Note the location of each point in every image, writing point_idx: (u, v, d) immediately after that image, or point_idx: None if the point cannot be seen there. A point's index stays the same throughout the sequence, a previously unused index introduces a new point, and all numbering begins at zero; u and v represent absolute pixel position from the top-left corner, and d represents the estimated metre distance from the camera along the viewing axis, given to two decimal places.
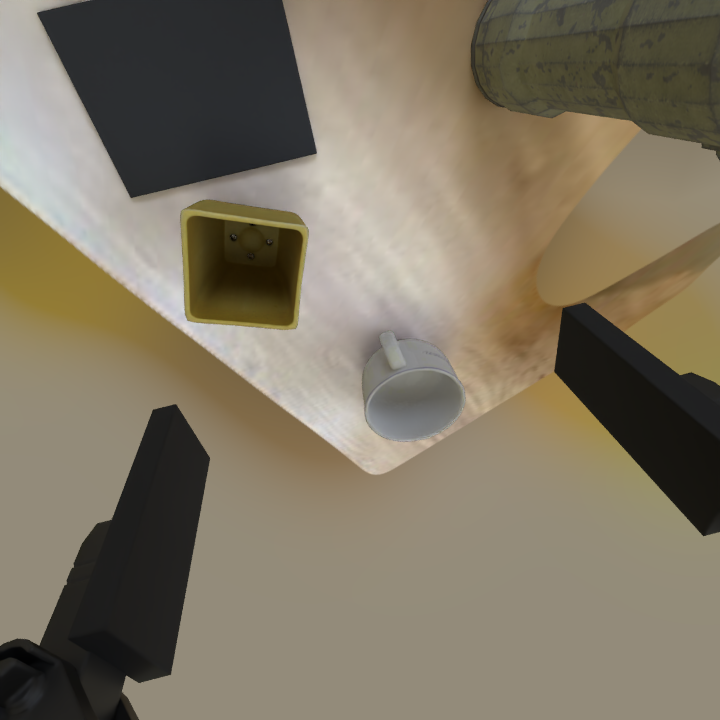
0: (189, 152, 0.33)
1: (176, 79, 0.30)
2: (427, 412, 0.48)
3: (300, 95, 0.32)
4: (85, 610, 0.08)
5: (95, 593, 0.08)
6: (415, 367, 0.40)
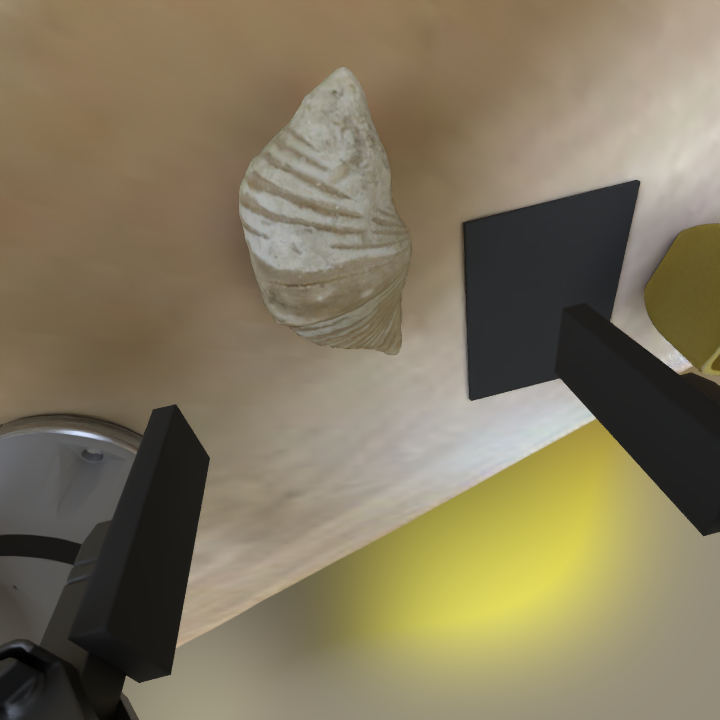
0: None
1: (531, 319, 0.32)
2: None
3: (578, 200, 0.27)
4: (85, 610, 0.08)
5: (95, 593, 0.08)
6: None
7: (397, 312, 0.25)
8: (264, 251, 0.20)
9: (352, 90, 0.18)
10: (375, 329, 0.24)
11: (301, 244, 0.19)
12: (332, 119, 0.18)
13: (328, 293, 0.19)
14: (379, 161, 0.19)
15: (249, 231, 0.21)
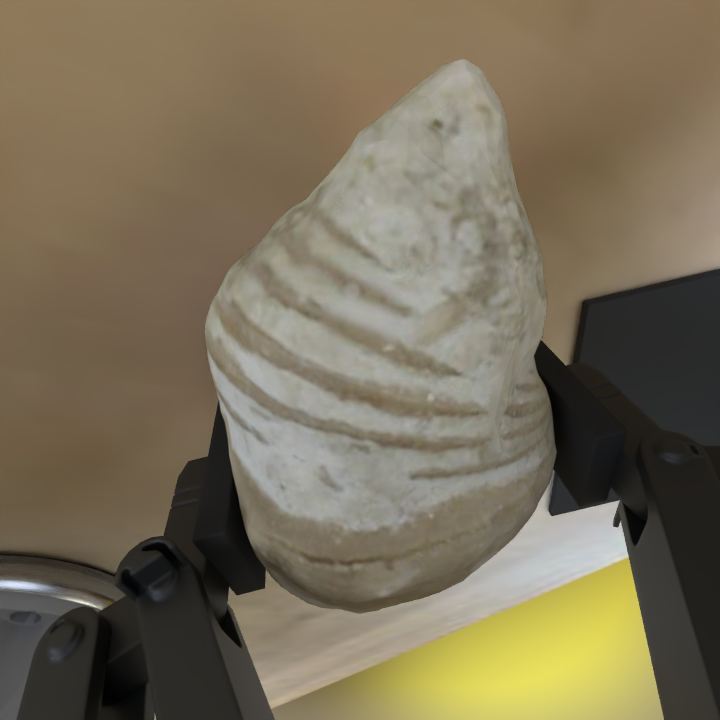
0: None
1: None
2: None
3: None
4: (203, 520, 0.09)
5: (208, 508, 0.10)
6: None
7: None
8: (256, 462, 0.09)
9: (484, 121, 0.07)
10: None
11: (342, 473, 0.08)
12: (431, 195, 0.07)
13: (402, 582, 0.08)
14: (531, 288, 0.08)
15: (226, 407, 0.10)
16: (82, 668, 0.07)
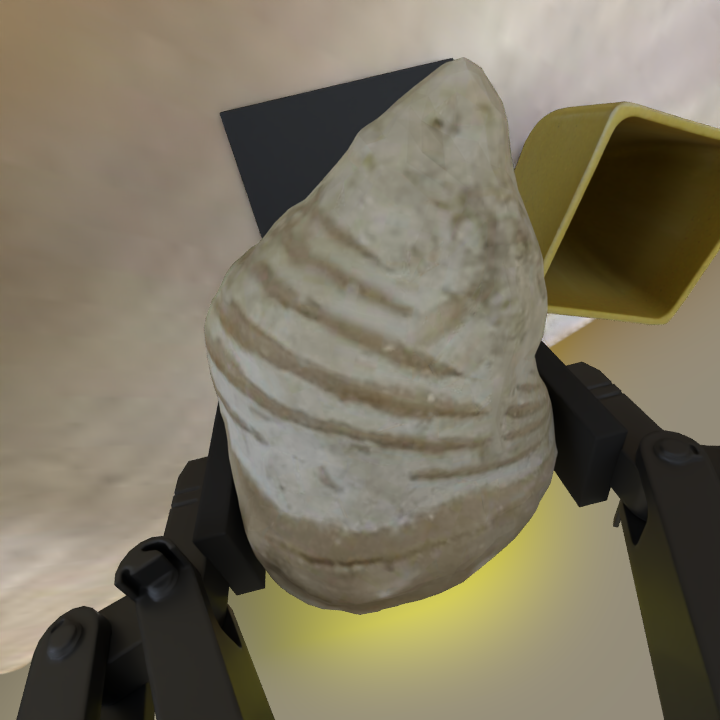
0: None
1: None
2: None
3: (371, 83, 0.20)
4: (203, 520, 0.09)
5: (208, 507, 0.10)
6: None
7: None
8: (256, 462, 0.09)
9: (485, 120, 0.07)
10: None
11: (342, 474, 0.08)
12: (432, 194, 0.07)
13: (402, 584, 0.08)
14: (532, 288, 0.08)
15: (226, 407, 0.10)
16: (82, 668, 0.07)
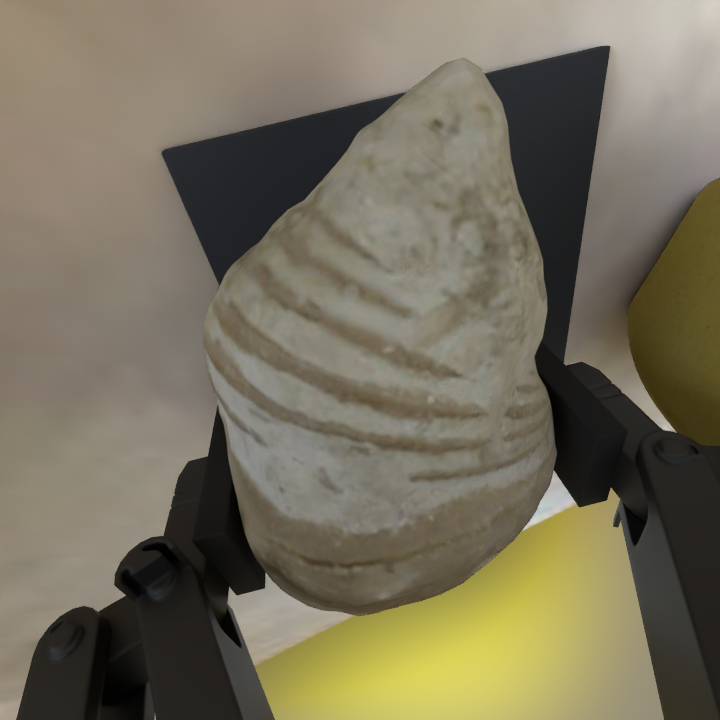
0: None
1: None
2: None
3: None
4: (203, 520, 0.09)
5: (208, 508, 0.10)
6: None
7: None
8: (255, 464, 0.09)
9: (485, 121, 0.07)
10: None
11: (341, 475, 0.08)
12: (431, 196, 0.07)
13: (403, 585, 0.08)
14: (532, 289, 0.08)
15: (225, 409, 0.10)
16: (82, 668, 0.07)
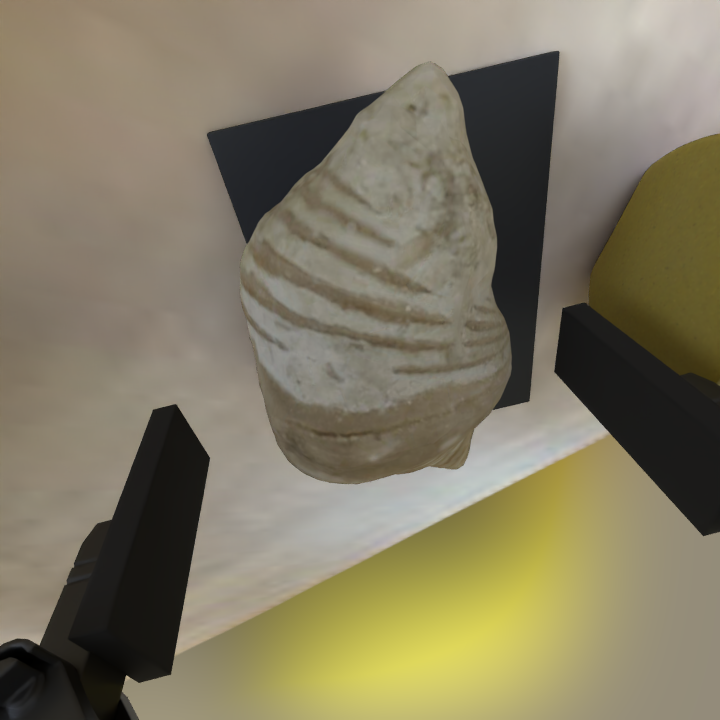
0: None
1: None
2: None
3: None
4: (85, 610, 0.08)
5: (95, 593, 0.08)
6: None
7: None
8: (278, 367, 0.12)
9: (445, 105, 0.10)
10: (442, 457, 0.16)
11: (343, 367, 0.11)
12: (407, 157, 0.10)
13: (387, 450, 0.11)
14: (482, 229, 0.11)
15: (255, 329, 0.13)
16: None
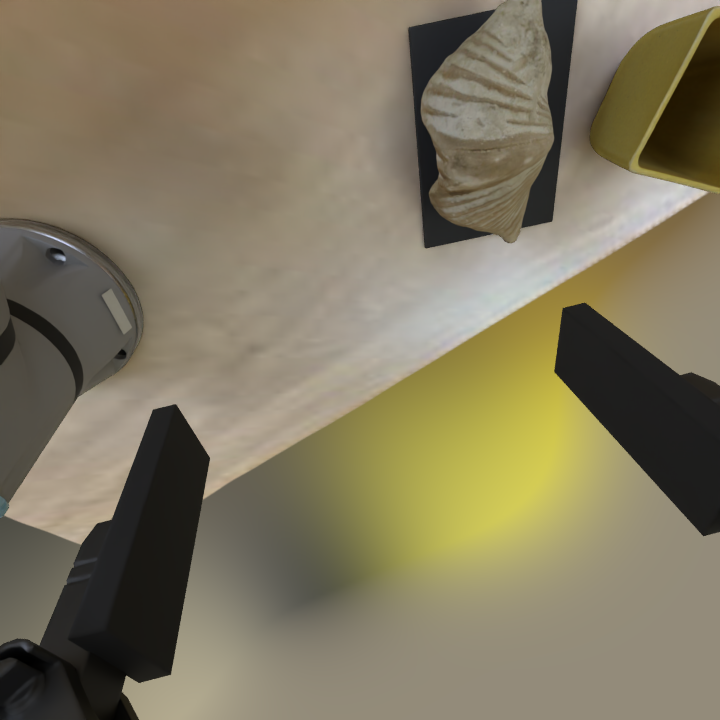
0: None
1: None
2: None
3: None
4: (85, 610, 0.08)
5: (95, 593, 0.08)
6: None
7: (526, 198, 0.31)
8: (450, 127, 0.27)
9: (535, 1, 0.24)
10: (513, 206, 0.30)
11: (485, 119, 0.26)
12: (520, 22, 0.24)
13: (503, 156, 0.26)
14: (547, 57, 0.25)
15: (436, 115, 0.27)
16: None
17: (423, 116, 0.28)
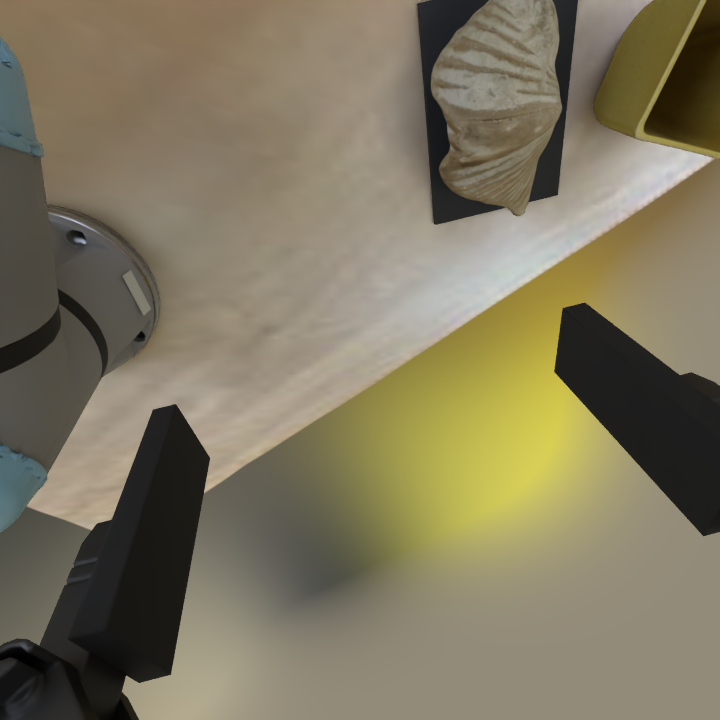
0: None
1: None
2: None
3: None
4: (85, 610, 0.08)
5: (95, 593, 0.08)
6: None
7: (534, 169, 0.32)
8: (462, 99, 0.27)
9: None
10: (522, 177, 0.31)
11: (496, 89, 0.26)
12: None
13: (514, 125, 0.27)
14: (555, 27, 0.26)
15: (447, 88, 0.28)
16: None
17: (434, 90, 0.29)
